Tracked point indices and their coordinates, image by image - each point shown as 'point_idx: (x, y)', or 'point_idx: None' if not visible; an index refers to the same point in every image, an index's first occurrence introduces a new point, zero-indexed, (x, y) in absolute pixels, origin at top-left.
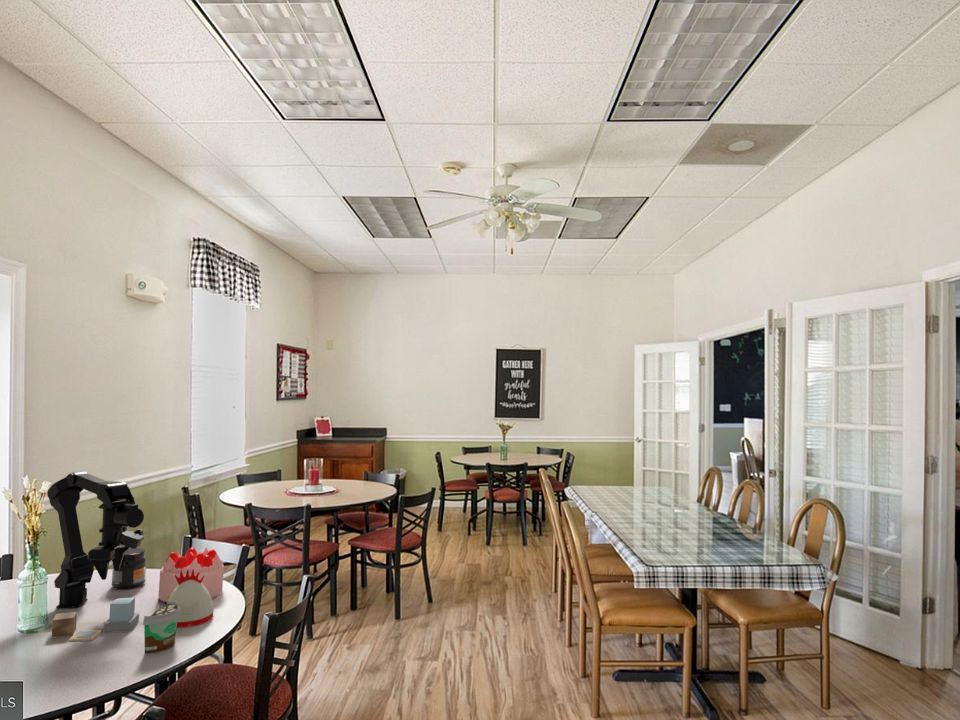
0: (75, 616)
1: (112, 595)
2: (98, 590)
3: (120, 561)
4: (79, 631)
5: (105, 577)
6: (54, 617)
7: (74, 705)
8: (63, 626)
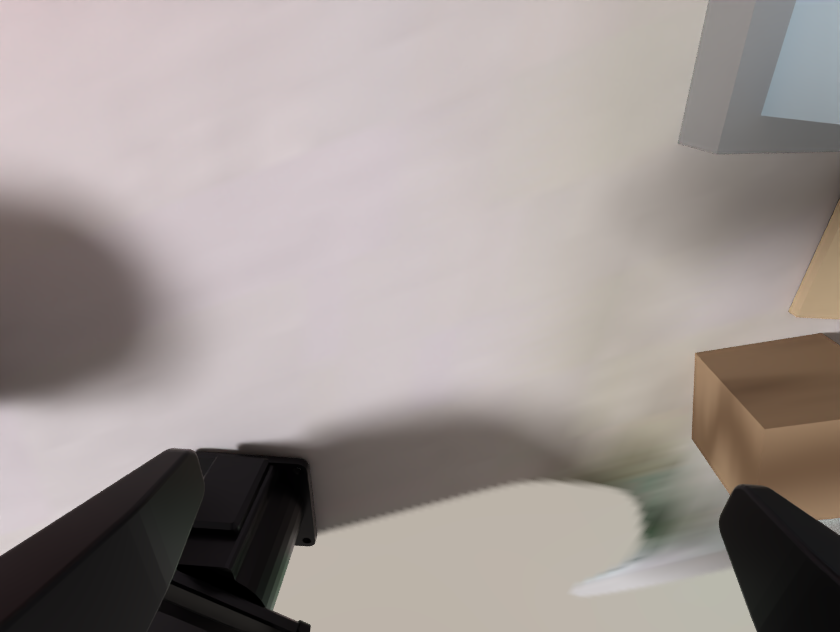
0: (821, 408)
1: (69, 354)
2: (8, 452)
3: (42, 599)
4: (810, 313)
5: (802, 516)
6: (836, 517)
7: None
8: None
